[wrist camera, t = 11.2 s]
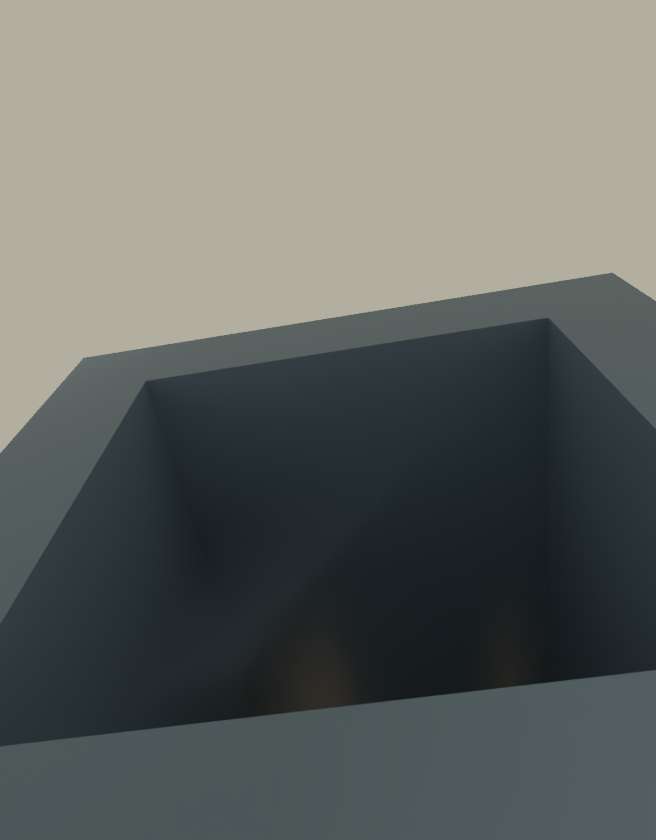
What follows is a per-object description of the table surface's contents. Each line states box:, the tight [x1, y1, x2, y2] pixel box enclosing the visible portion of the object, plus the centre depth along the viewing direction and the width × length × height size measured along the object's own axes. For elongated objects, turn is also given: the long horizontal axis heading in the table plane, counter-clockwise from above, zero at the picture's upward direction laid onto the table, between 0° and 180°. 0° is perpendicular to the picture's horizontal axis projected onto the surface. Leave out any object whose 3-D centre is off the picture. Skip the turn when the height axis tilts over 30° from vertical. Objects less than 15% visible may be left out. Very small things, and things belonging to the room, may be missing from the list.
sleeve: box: [0, 273, 656, 840], centre depth 9 cm, size 8×8×11 cm
